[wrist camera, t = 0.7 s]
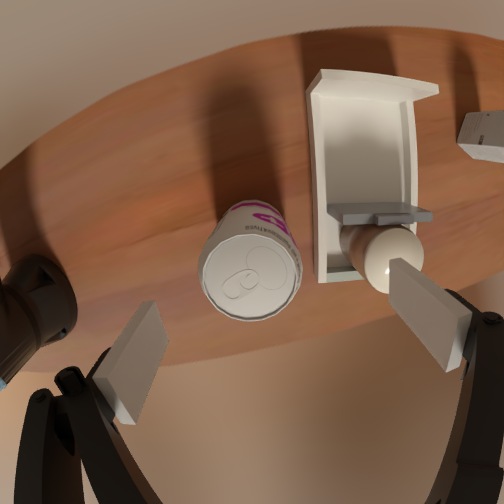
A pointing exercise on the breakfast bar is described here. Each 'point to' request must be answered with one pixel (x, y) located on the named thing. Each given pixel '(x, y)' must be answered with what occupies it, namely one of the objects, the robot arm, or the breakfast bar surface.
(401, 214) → the pusher
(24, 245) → the breakfast bar surface
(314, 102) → the lane
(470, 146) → the skincare box
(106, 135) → the breakfast bar surface
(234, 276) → the supplement can
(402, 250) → the jar
